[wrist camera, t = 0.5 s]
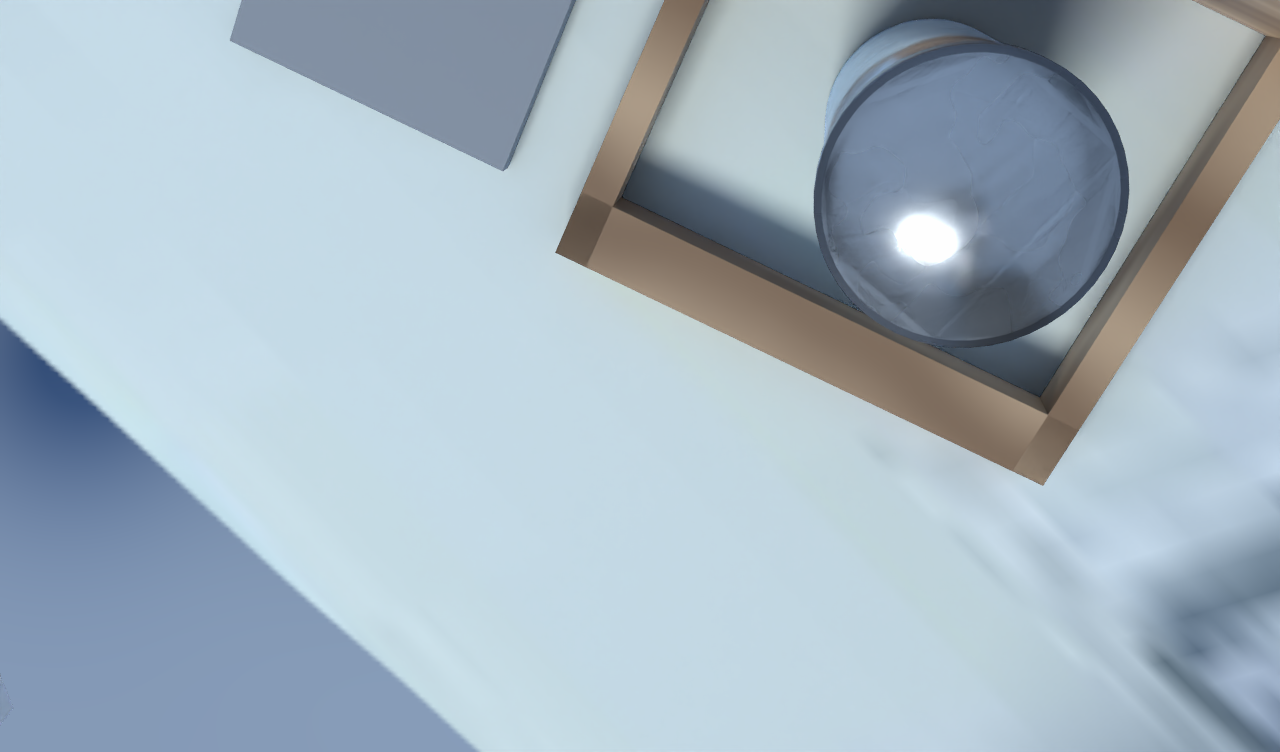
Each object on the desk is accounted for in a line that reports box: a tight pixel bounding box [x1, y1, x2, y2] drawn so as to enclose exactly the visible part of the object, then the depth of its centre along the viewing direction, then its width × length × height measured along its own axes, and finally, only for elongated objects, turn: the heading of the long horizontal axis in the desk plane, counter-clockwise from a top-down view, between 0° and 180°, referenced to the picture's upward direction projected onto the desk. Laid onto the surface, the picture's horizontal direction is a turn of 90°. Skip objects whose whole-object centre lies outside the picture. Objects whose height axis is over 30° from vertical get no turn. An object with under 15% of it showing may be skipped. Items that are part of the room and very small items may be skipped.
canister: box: [814, 19, 1129, 348], centre depth 29 cm, size 6×6×12 cm
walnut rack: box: [555, 0, 1280, 485], centre depth 31 cm, size 16×16×9 cm
